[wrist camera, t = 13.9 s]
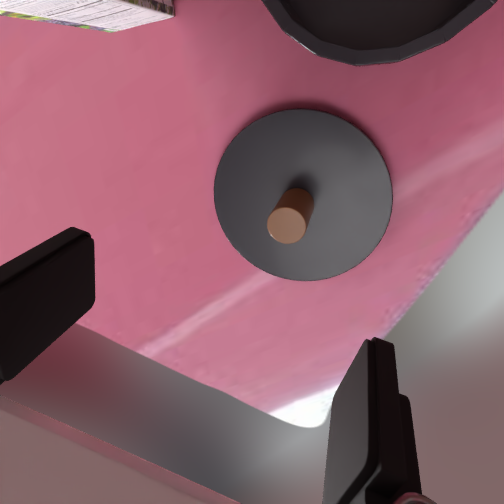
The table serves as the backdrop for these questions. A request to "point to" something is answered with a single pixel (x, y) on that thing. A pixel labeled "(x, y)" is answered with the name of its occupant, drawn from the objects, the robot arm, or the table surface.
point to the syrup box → (90, 12)
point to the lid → (303, 194)
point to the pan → (373, 26)
